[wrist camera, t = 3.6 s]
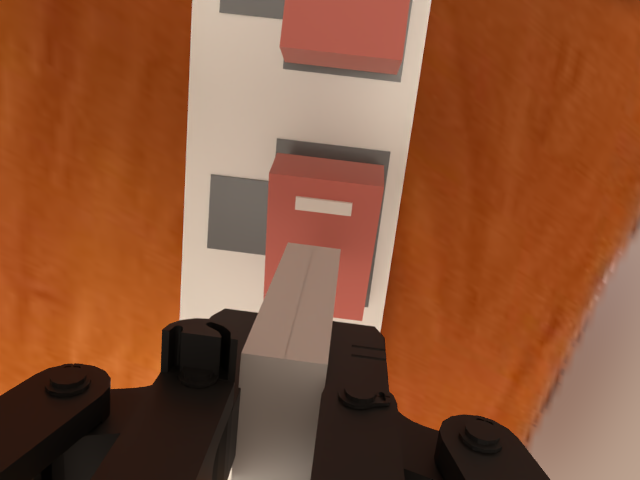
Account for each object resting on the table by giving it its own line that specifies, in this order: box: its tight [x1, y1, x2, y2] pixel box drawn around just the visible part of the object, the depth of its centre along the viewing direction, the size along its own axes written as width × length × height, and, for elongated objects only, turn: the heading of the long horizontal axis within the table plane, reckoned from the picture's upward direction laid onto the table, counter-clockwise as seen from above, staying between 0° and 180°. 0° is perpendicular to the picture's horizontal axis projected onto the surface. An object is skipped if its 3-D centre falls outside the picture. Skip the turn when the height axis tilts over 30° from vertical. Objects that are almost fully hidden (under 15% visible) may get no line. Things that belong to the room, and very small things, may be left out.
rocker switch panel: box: [180, 0, 431, 480], centre depth 26 cm, size 28×9×5 cm, turn 174°
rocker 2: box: [263, 153, 384, 321], centre depth 22 cm, size 6×4×2 cm, turn 172°
